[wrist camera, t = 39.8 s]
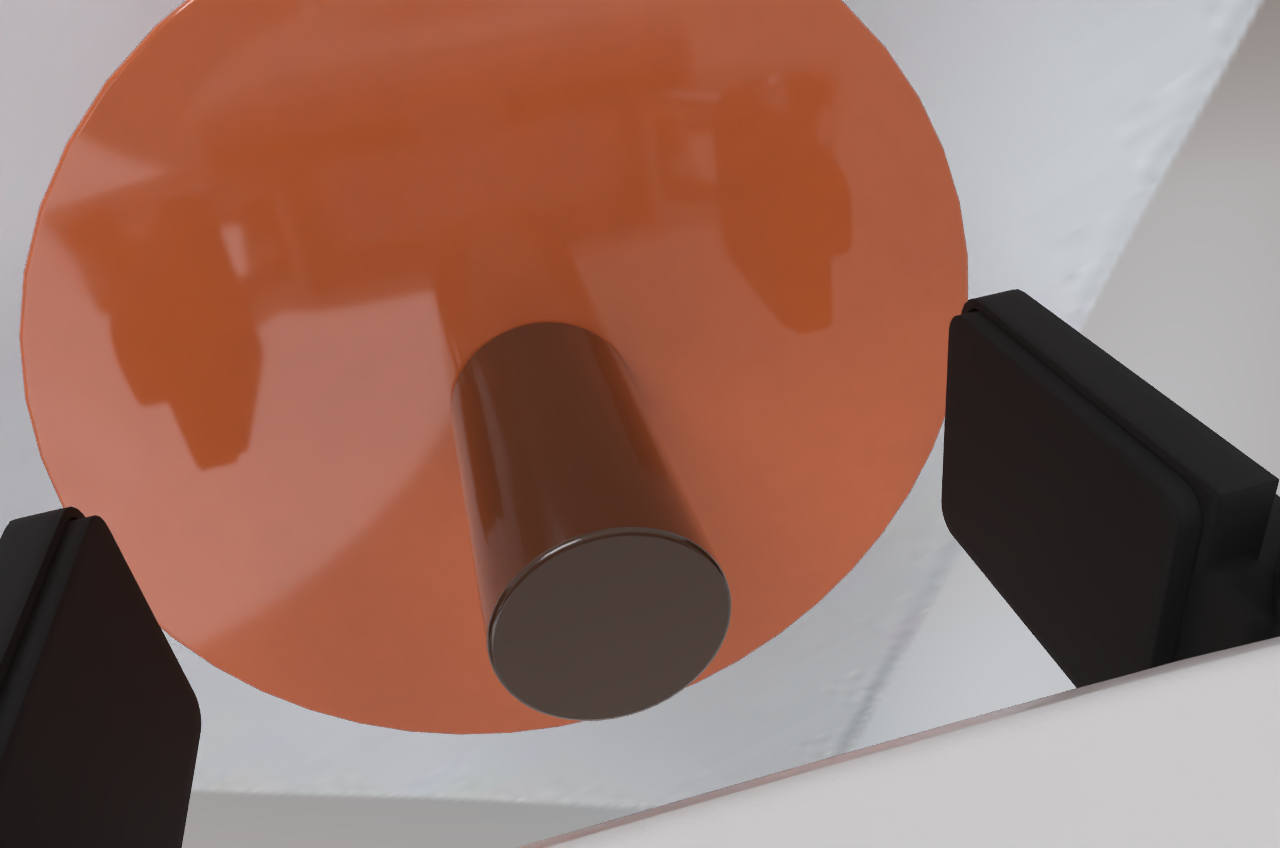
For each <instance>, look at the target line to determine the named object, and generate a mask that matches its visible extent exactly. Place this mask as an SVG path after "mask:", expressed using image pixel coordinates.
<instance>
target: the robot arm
mask: <svg viewBox="0 0 1280 848" xmlns="http://www.w3.org/2000/svg"><path fill="white" fill-rule="evenodd" d="M1278 482H1279V479H1278V478H1277V477H1275V476H1274V475H1272V474H1271V473H1270V472H1268V471H1267V470H1266V469H1264V468H1263V467H1261V466H1260V465H1259V464H1257V463H1256V462H1255V461H1253V460H1252V459H1251V458H1249V457H1248V456H1246V455H1245V454H1244V453H1242V452H1241V451H1240V450H1238V449H1237V448H1236V447H1234V446H1233V445H1231V444H1230V443H1229V442H1227V441H1226V440H1225V439H1223V438H1222V437H1221V436H1219V435H1218V434H1217V433H1215V432H1214V431H1213V430H1211V429H1210V428H1208V427H1207V426H1206V425H1204V424H1203V423H1202V422H1200V421H1199V420H1197V419H1196V418H1195V417H1193V416H1192V415H1191V414H1189V413H1188V412H1186V411H1185V410H1184V409H1183V408H1181V407H1180V406H1178V405H1177V404H1176V403H1174V402H1173V401H1171V400H1170V399H1169V398H1167V397H1166V396H1165V395H1163V394H1162V393H1161V392H1159V391H1158V390H1157V389H1155V388H1154V387H1153V386H1151V385H1150V384H1148V383H1147V382H1145V381H1144V380H1143V379H1142V378H1140V377H1139V376H1138V375H1136V374H1135V373H1133V372H1132V371H1131V370H1129V369H1128V368H1127V367H1125V366H1124V365H1123V364H1121V363H1120V362H1119V361H1117V360H1116V359H1114V358H1113V357H1112V356H1110V355H1109V354H1108V353H1106V352H1105V351H1104V350H1102V349H1101V348H1099V347H1098V346H1097V345H1095V344H1094V343H1092V342H1091V341H1090V340H1089V339H1087V338H1086V337H1084V336H1083V335H1082V334H1080V333H1079V332H1078V331H1076V330H1075V329H1074V328H1072V327H1071V326H1069V325H1068V324H1067V323H1065V322H1064V321H1063V320H1061V319H1060V318H1059V317H1057V316H1056V315H1055V314H1053V313H1052V312H1050V311H1049V310H1048V309H1046V308H1045V307H1044V306H1042V305H1041V304H1040V303H1038V302H1037V301H1035V300H1034V299H1033V298H1031V297H1030V296H1029V295H1027V294H1026V293H1025V292H1023V291H1020V290H1018V289H1016V290H1009V291H1005V292H1001V293H996V294H992V295H988V296H983V297H979V298H975V299H970V300H968V301H967V302H966V303H965V304H964V306H963V309H962V311H961V315H957V316H954V317H953V318H952V320H951V322H950V325H949V337H948V360H947V384H946V407H945V431H944V454H943V478H942V512H943V516H944V519H945V522H946V525H947V527H948V529H949V531H950V532H951V534H952V535H953V536H954V538H955V539H956V540H957V541H958V543H959V544H960V545H961V546H962V548H963V549H964V550H965V551H966V552H967V554H968V555H969V556H970V557H971V559H972V560H973V561H974V562H975V564H976V565H977V566H978V567H979V568H980V569H981V571H982V572H983V573H984V574H985V576H986V577H987V578H988V579H989V581H990V582H991V583H992V584H993V586H994V587H995V588H996V589H997V591H998V592H999V593H1000V594H1001V595H1002V597H1003V598H1004V599H1005V600H1006V602H1007V603H1008V604H1009V605H1010V607H1011V608H1012V609H1013V610H1014V611H1015V613H1016V614H1017V615H1018V616H1019V617H1020V619H1021V620H1022V621H1023V623H1024V624H1025V625H1026V626H1027V627H1028V629H1029V630H1030V631H1031V632H1032V634H1033V635H1034V636H1035V637H1036V638H1037V640H1038V641H1039V642H1040V643H1041V645H1042V646H1043V647H1044V648H1045V649H1046V651H1047V652H1048V653H1049V654H1050V656H1051V657H1052V658H1053V659H1054V661H1055V662H1056V663H1057V664H1058V666H1059V667H1060V668H1061V669H1062V670H1063V672H1064V673H1065V674H1066V675H1067V677H1068V678H1069V679H1070V680H1071V682H1072V683H1073V684H1074V685H1075V686H1076V689H1072V690H1069V691H1065V692H1062V693H1059V694H1055V695H1051V696H1047V697H1044V698H1040V699H1037V700H1033V701H1030V702H1026V703H1022V704H1019V705H1015V706H1012V707H1008V708H1005V709H1001V710H998V711H994V712H990V713H987V714H984V715H980V716H976V717H973V718H969V719H965V720H962V721H958V722H955V723H951V724H948V725H944V726H941V727H937V728H933V729H930V730H927V731H923V732H919V733H916V734H912V735H909V736H905V737H901V738H898V739H895V740H891V741H887V742H884V743H880V744H877V745H873V746H869V747H866V748H862V749H859V750H855V751H852V752H848V753H844V754H841V755H837V756H834V757H830V758H827V759H823V760H820V761H816V762H813V763H809V764H806V765H802V766H799V767H795V768H792V769H788V770H785V771H781V772H778V773H774V774H771V775H767V776H764V777H760V778H757V779H753V780H750V781H746V782H743V783H740V784H736V785H733V786H729V787H726V788H722V789H719V790H715V791H712V792H708V793H705V794H701V795H698V796H694V797H691V798H687V799H684V800H680V801H677V802H673V803H670V804H666V805H663V806H659V807H656V808H652V809H649V810H645V811H642V812H639V813H635V814H632V815H628V816H625V817H621V818H618V819H614V820H611V821H607V822H604V823H600V824H597V825H594V826H590V827H586V828H583V829H579V830H576V831H573V832H569V833H566V834H562V835H559V836H555V837H552V838H548V839H545V840H541V841H538V842H535V843H531V844H528V845H524V846H521V847H517V848H1280V497H1279V496H1278V495H1276V490H1277V486H1278ZM200 733H201V714H200V708H199V704H198V701H197V698H196V696H195V693H194V691H193V689H192V688H191V686H190V684H189V682H188V680H187V678H186V676H185V674H184V672H183V670H182V668H181V666H180V664H179V662H178V661H177V659H176V657H175V655H174V653H173V651H172V649H171V647H170V645H169V643H168V641H167V639H166V637H165V635H164V634H163V632H162V630H161V628H160V626H159V624H158V622H157V620H156V618H155V616H154V614H153V612H152V610H151V608H150V606H149V605H148V603H147V601H146V599H145V597H144V595H143V593H142V591H141V589H140V587H139V585H138V583H137V581H136V579H135V578H134V576H133V574H132V572H131V570H130V568H129V566H128V564H127V562H126V560H125V558H124V556H123V554H122V552H121V551H120V549H119V547H118V545H117V543H116V541H115V539H114V537H113V535H112V533H111V531H110V529H109V527H108V526H107V524H106V523H105V521H104V520H103V519H102V518H101V517H100V516H97V515H94V516H90V517H85V516H84V514H83V513H82V512H81V511H80V510H78V509H77V508H75V507H72V506H71V507H66V508H62V509H58V510H53V511H49V512H45V513H40V514H36V515H32V516H27V517H23V518H18V519H15V520H12V521H10V523H9V524H8V525H7V527H6V528H5V530H4V532H3V535H2V537H1V539H0V848H181V847H182V841H183V835H184V829H185V823H186V817H187V811H188V804H189V799H190V793H191V787H192V781H193V775H194V769H195V763H196V757H197V751H198V745H199V739H200Z"/></svg>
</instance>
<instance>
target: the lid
mask: <svg viewBox="0 0 1280 848" xmlns="http://www.w3.org/2000/svg"><path fill="white" fill-rule="evenodd" d="M967 301H968V254H967V248H966V241H965V235H964V228H963V221H962V215H961V208H960V202H959V198H958V195H957V191H956V188H955V185H954V182H953V178H952V175H951V172H950V168H949V165H948V162H947V158H946V155H945V152H944V149H943V146H942V144H941V142H940V140H939V138H938V136H937V134H936V131H935V129H934V127H933V125H932V123H931V121H930V119H929V117H928V115H927V112H926V110H925V108H924V106H923V104H922V102H921V100H920V98H919V96H918V94H917V93H916V91H915V90H914V88H913V87H912V85H911V84H910V82H909V81H908V80H907V78H906V77H905V75H904V74H903V72H902V71H901V69H900V68H899V66H898V65H897V63H896V62H895V60H894V59H893V57H892V56H891V54H890V53H889V51H888V50H887V48H886V47H885V46H884V45H883V44H882V43H881V42H880V41H879V39H878V38H877V37H876V36H875V35H874V34H873V33H872V32H871V31H870V30H869V29H868V28H867V27H866V25H865V24H864V23H863V22H862V21H861V20H860V19H859V18H858V17H857V16H856V15H855V14H854V12H853V11H852V10H851V9H850V8H849V7H848V6H847V5H846V4H845V3H844V2H843V1H842V0H184V1H183V2H181V3H180V4H179V5H178V6H176V7H175V8H174V9H173V10H172V11H170V12H169V13H168V14H167V15H165V16H164V17H163V18H162V19H161V20H160V21H159V22H158V23H157V24H156V26H155V27H154V28H153V29H152V30H151V31H150V32H149V33H148V35H147V36H146V37H145V38H144V39H143V40H142V41H141V42H140V43H139V45H138V46H137V47H136V48H135V49H134V50H133V51H132V52H131V54H130V55H129V56H128V57H127V58H126V59H125V60H124V61H123V63H122V64H121V65H120V66H119V67H118V68H117V69H116V70H115V71H114V73H113V74H112V75H111V76H110V77H109V78H108V79H107V80H106V82H105V83H104V85H103V86H102V88H101V90H100V91H99V93H98V94H97V96H96V97H95V99H94V101H93V102H92V104H91V105H90V107H89V108H88V110H87V112H86V113H85V115H84V116H83V118H82V119H81V121H80V123H79V124H78V126H77V127H76V129H75V130H74V132H73V134H72V135H71V137H70V138H69V140H68V141H67V143H66V145H65V148H64V150H63V153H62V155H61V157H60V160H59V162H58V164H57V167H56V169H55V171H54V174H53V176H52V178H51V181H50V183H49V185H48V188H47V190H46V192H45V195H44V197H43V199H42V202H41V204H40V206H39V210H38V214H37V218H36V223H35V227H34V231H33V235H32V239H31V243H30V247H29V252H28V256H27V260H26V264H25V268H24V273H23V287H22V302H21V316H20V330H19V341H20V351H21V361H22V372H23V382H24V393H25V400H26V404H27V407H28V411H29V415H30V419H31V423H32V426H33V430H34V434H35V438H36V441H37V445H38V449H39V453H40V456H41V459H42V461H43V463H44V465H45V468H46V470H47V472H48V475H49V477H50V479H51V481H52V484H53V486H54V488H55V490H56V493H57V495H58V497H59V500H60V502H61V504H62V506H63V508H66V507H71V506H72V507H75V508H77V509H78V510H80V511H81V512H82V513H83V514H84V516H85V517H90V516H94V515H97V516H100V517H101V518H102V519H103V520H104V521H105V523H106V524H107V526H108V527H109V529H110V531H111V533H112V535H113V537H114V539H115V541H116V543H117V545H118V547H119V549H120V551H121V552H122V554H123V556H124V558H125V560H126V562H127V564H128V566H129V568H130V570H131V572H132V574H133V576H134V578H135V579H136V581H137V583H138V585H139V587H140V589H141V591H142V593H143V595H144V597H145V599H146V601H147V603H148V605H149V606H150V608H151V610H152V612H153V614H154V616H155V618H156V620H157V622H158V624H159V626H160V627H161V628H162V629H163V630H164V631H165V632H167V633H168V634H169V635H170V636H171V637H173V638H174V639H175V640H177V641H178V642H180V643H181V644H183V645H184V646H186V647H187V648H189V649H190V650H191V651H193V652H194V653H196V654H197V655H199V656H200V657H202V658H203V659H205V660H206V661H207V662H209V663H210V664H212V665H213V666H215V667H217V668H218V669H220V670H222V671H224V672H226V673H228V674H230V675H232V676H234V677H236V678H238V679H239V680H241V681H243V682H245V683H247V684H249V685H251V686H253V687H255V688H257V689H259V690H260V691H263V692H265V693H268V694H270V695H273V696H275V697H278V698H281V699H283V700H286V701H288V702H291V703H294V704H296V705H299V706H301V707H304V708H306V709H309V710H312V711H316V712H320V713H323V714H327V715H331V716H334V717H338V718H342V719H346V720H349V721H353V722H357V723H361V724H367V725H373V726H380V727H386V728H392V729H398V730H404V731H412V732H428V733H444V734H490V733H512V732H520V731H528V730H536V729H544V728H552V727H559V726H564V725H568V724H573V723H577V722H582V721H599V720H607V719H614V718H619V717H623V716H628V715H631V714H634V713H638V712H641V711H644V710H646V709H648V708H651V707H653V706H656V705H658V704H660V703H662V702H663V701H665V700H667V699H669V698H671V697H672V696H674V695H675V694H677V693H678V692H680V691H681V690H683V689H684V688H686V687H688V686H690V685H693V684H695V683H698V682H699V681H701V680H703V679H705V678H707V677H709V676H711V675H713V674H714V673H716V672H718V671H720V670H722V669H724V668H726V667H728V666H729V665H731V664H733V663H735V662H737V661H739V660H741V659H742V658H744V657H745V656H747V655H748V654H750V653H751V652H753V651H754V650H756V649H757V648H759V647H760V646H762V645H763V644H765V643H766V642H768V641H769V640H771V639H772V638H774V637H776V636H777V635H779V634H780V633H781V632H783V631H784V630H785V629H786V628H788V627H789V626H790V625H791V624H793V623H794V622H795V621H796V620H798V619H799V618H800V617H801V616H802V615H804V614H805V613H806V612H807V611H809V610H810V609H811V608H812V607H814V606H815V605H816V604H817V603H818V602H819V601H821V600H822V599H823V598H824V597H825V596H826V595H827V594H828V593H829V592H830V591H831V590H832V589H833V588H834V587H835V586H836V585H837V584H838V583H839V582H840V581H841V580H842V579H843V578H844V577H845V576H846V575H847V574H848V573H849V572H850V571H851V570H852V569H853V568H854V567H855V566H856V564H857V563H858V562H859V561H860V560H861V558H862V557H863V556H864V555H865V554H866V552H867V551H868V550H869V549H870V548H871V546H872V545H873V544H874V543H875V542H876V540H877V539H878V538H879V537H880V536H881V534H882V533H883V532H884V530H885V529H886V527H887V526H888V524H889V523H890V521H891V520H892V518H893V517H894V515H895V514H896V513H897V511H898V510H899V508H900V507H901V505H902V504H903V502H904V501H905V499H906V498H907V496H908V495H909V493H910V491H911V489H912V488H913V486H914V484H915V482H916V480H917V478H918V476H919V474H920V472H921V470H922V468H923V467H924V465H925V463H926V461H927V459H928V457H929V455H930V453H931V451H932V449H933V447H934V444H935V441H936V439H937V436H938V434H939V431H940V428H941V426H942V423H943V421H944V418H945V407H946V384H947V360H948V337H949V325H950V322H951V320H952V318H953V317H954V316H957V315H961V311H962V309H963V306H964V304H965V303H966V302H967Z"/></svg>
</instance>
